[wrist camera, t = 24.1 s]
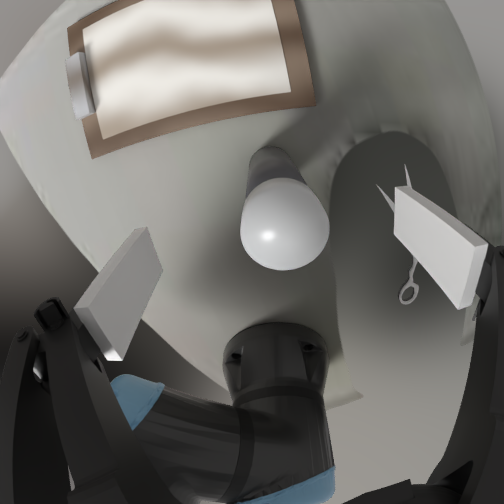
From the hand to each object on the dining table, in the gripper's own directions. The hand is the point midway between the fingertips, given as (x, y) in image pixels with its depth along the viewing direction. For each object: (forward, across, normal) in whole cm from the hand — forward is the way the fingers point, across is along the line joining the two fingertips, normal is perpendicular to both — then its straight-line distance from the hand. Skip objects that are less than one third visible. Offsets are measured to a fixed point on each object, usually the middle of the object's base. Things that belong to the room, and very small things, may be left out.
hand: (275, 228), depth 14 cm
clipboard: (+13, +6, -14) cm, 20 cm away
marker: (+13, -1, 0) cm, 13 cm away
